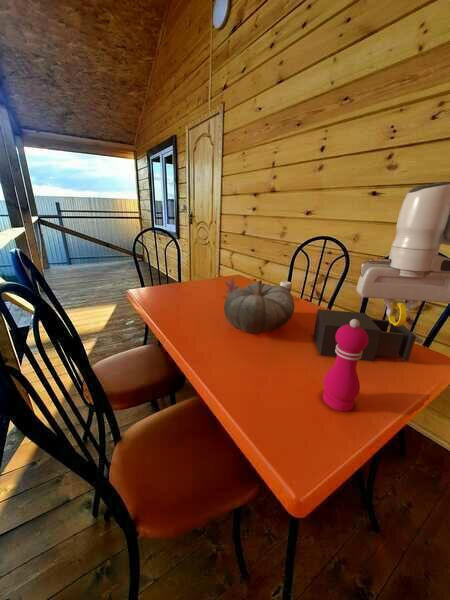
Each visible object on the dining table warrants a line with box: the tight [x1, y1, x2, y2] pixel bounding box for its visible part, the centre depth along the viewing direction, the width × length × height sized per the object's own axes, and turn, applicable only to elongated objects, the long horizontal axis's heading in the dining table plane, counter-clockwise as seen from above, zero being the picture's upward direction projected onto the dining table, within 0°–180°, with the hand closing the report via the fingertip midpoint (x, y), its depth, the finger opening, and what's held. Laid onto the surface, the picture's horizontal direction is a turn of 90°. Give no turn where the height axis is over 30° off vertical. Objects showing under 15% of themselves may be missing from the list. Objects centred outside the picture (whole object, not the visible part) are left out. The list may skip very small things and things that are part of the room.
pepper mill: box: [322, 319, 368, 412], centre depth 53 cm, size 7×7×20 cm
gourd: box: [223, 280, 295, 336], centre depth 90 cm, size 25×25×17 cm
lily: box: [223, 275, 240, 298], centre depth 120 cm, size 12×12×10 cm
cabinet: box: [313, 308, 382, 362], centre depth 78 cm, size 15×13×10 cm
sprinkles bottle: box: [279, 280, 293, 294], centre depth 103 cm, size 5×5×14 cm
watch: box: [387, 299, 408, 326], centre depth 63 cm, size 6×3×6 cm, turn 170°
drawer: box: [370, 318, 424, 362], centre depth 77 cm, size 18×12×8 cm, turn 80°
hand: (396, 315), depth 63 cm, fingers closed on watch
